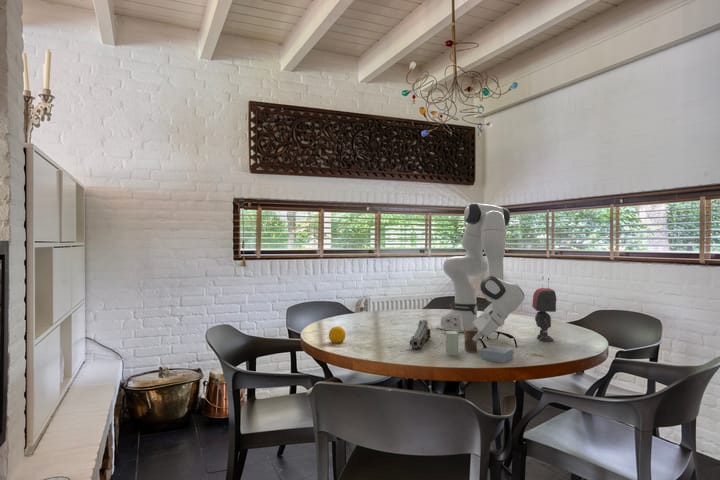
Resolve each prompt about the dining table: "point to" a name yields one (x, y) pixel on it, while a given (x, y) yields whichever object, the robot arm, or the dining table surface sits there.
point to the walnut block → (470, 340)
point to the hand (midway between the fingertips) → (471, 337)
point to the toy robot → (544, 311)
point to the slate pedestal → (497, 354)
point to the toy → (420, 335)
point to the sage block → (451, 342)
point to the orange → (337, 335)
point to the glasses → (497, 337)
